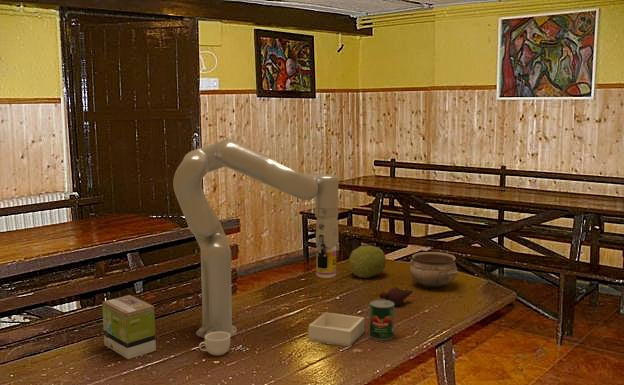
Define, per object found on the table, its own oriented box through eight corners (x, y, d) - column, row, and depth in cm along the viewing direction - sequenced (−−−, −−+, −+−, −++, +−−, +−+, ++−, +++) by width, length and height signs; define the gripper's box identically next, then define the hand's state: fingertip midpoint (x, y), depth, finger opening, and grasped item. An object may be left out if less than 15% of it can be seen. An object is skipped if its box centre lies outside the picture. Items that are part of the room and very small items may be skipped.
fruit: (359, 269, 297) (376, 240, 294) (380, 287, 287) (398, 258, 285) (337, 264, 285) (354, 234, 282) (358, 283, 275) (376, 252, 273)
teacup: (223, 346, 207) (223, 329, 207) (235, 354, 201) (234, 337, 200) (194, 353, 202) (193, 336, 201) (205, 361, 196) (204, 344, 195)
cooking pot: (394, 283, 276) (395, 254, 274) (426, 275, 287) (427, 248, 285) (439, 298, 256) (440, 267, 254) (472, 289, 267) (473, 259, 265)
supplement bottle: (334, 278, 218) (335, 240, 216) (314, 277, 219) (315, 239, 217) (337, 273, 224) (337, 236, 222) (318, 272, 225) (318, 235, 223)
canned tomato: (374, 341, 212) (374, 308, 210) (365, 332, 219) (366, 300, 217) (397, 338, 214) (398, 306, 212) (388, 330, 221) (388, 298, 220)
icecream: (404, 282, 254) (372, 291, 247) (416, 282, 248) (384, 292, 240) (408, 300, 254) (376, 310, 247) (420, 300, 248) (388, 311, 240)
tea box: (103, 346, 207) (100, 300, 205) (132, 338, 214) (130, 293, 212) (127, 360, 196) (125, 312, 194) (157, 351, 203) (155, 304, 201)
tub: (350, 347, 207) (350, 331, 206) (308, 340, 212) (308, 325, 211) (364, 332, 219) (364, 317, 219) (325, 326, 225) (325, 312, 224)
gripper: (328, 217, 209) (328, 272, 212) (345, 208, 225) (345, 260, 228) (306, 216, 212) (306, 270, 214) (324, 207, 228) (324, 258, 230)
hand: (326, 264), depth 221 cm, fingers closed on supplement bottle, 6 cm apart
